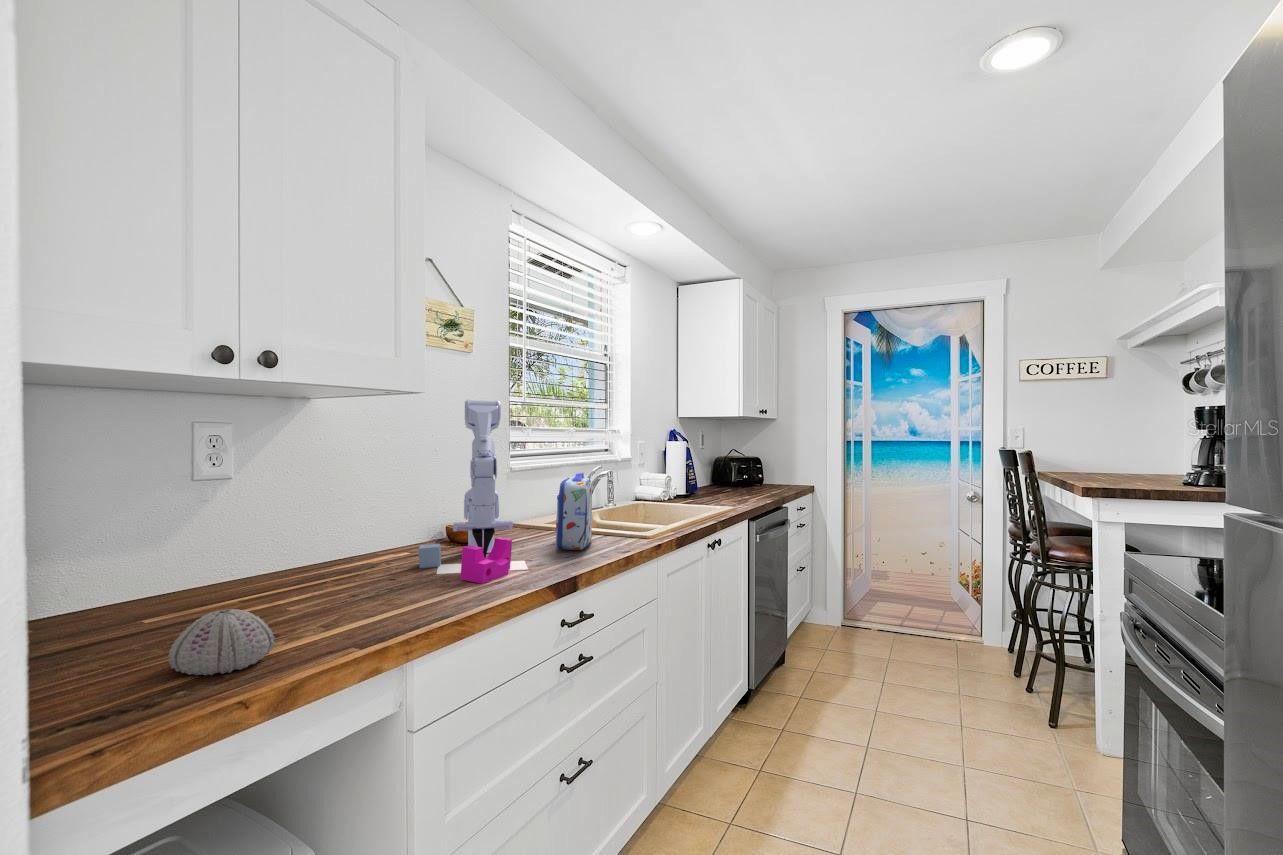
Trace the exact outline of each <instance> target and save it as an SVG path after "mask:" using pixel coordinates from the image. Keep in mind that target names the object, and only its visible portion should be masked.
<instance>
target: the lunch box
mask: <svg viewBox="0 0 1283 855" xmlns="http://www.w3.org/2000/svg"><path fill="white" fill-rule="evenodd" d="M558 490H559V493H558V494H557V496H556V498H557V499H556V500H557V504H556V520H555V546H556V548H557V549H559V550H574V551H583V550H584V549H585V548H587V547H588V546H590V544H591V542H592V537H593V532H592V531H593V530H592V528H593V526H592V524H593V523H592V519H593V518H592V517H593V513H592V512H593V510H592V509H593V507H592V506H593V493H592V492H593V490H592V480H591V479H590V478H588V477H585V476H584V472H580V473H575V475H574V476H572V477H571V476H570V477H567V478H565V479H564V480H562V481H561V482H560V485H559V489H558Z"/></svg>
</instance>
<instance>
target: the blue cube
mask: <svg viewBox="0 0 1283 855" xmlns="http://www.w3.org/2000/svg"><path fill="white" fill-rule="evenodd" d="M441 551H442V550H441V543H430V544H421V545H419V547H418V560H419V562H418V563H419V569H426V568H428V569H429V568H438V567H439V566H440V565H441V564H442V552H441Z"/></svg>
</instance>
